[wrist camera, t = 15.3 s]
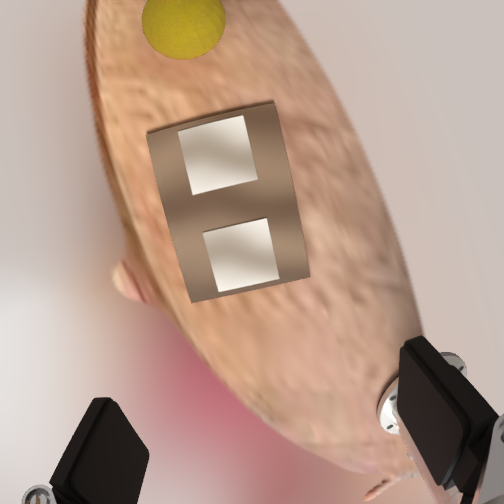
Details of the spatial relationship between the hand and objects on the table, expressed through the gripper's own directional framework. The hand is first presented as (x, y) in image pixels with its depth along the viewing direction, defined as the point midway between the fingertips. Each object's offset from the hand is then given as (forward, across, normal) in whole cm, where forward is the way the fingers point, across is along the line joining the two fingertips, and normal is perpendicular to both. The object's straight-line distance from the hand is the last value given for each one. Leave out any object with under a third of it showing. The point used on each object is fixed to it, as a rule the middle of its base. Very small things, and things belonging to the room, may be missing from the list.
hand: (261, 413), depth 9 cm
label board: (+16, +1, -4) cm, 17 cm away
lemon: (+17, 0, -18) cm, 25 cm away
